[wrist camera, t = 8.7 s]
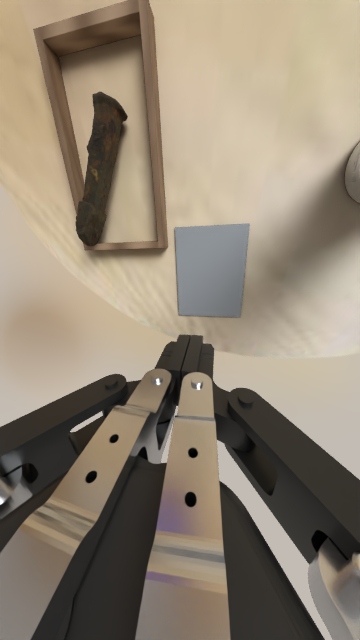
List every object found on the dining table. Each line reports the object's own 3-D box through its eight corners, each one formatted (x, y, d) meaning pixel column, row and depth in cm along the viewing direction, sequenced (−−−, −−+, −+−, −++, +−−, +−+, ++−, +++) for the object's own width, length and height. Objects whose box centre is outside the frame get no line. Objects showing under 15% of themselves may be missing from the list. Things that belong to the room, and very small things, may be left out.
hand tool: (106, 107, 27) (85, 78, 23) (131, 118, 27) (115, 91, 22) (81, 240, 34) (61, 237, 29) (101, 249, 33) (84, 247, 29)
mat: (249, 223, 30) (249, 223, 29) (240, 316, 36) (240, 317, 36) (175, 227, 32) (174, 227, 31) (179, 314, 38) (178, 315, 38)
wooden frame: (153, 18, 23) (146, -6, 21) (168, 246, 33) (164, 247, 31) (49, 47, 26) (33, 29, 23) (93, 249, 36) (84, 250, 34)
